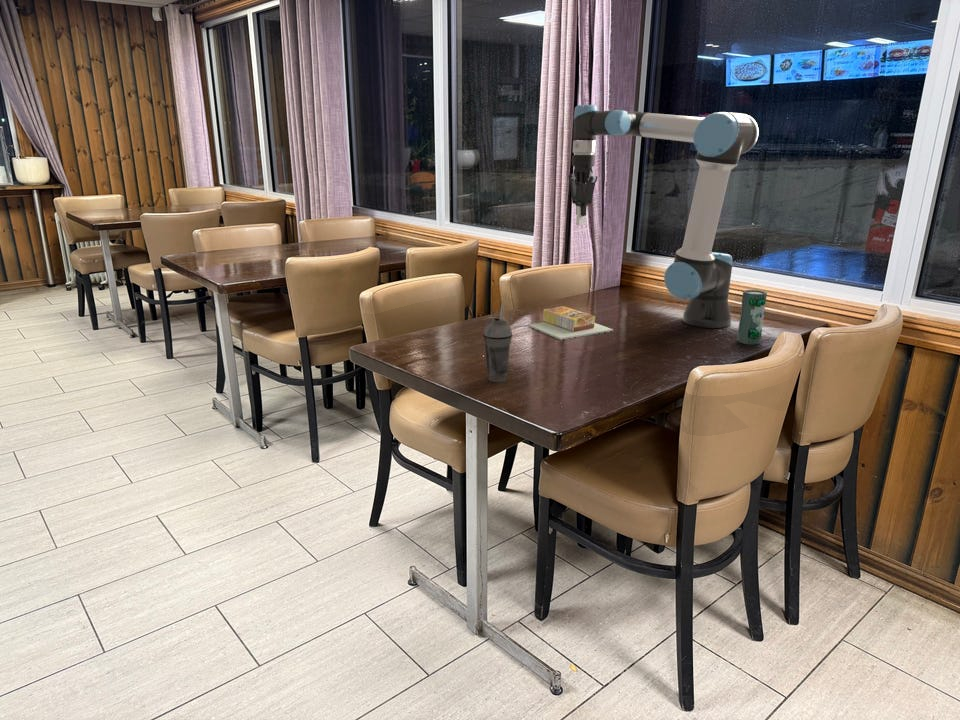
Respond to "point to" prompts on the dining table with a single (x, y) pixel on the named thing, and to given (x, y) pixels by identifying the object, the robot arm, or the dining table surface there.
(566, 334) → the mat
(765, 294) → the can
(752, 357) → the dining table surface
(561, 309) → the candy box
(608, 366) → the dining table surface
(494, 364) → the beverage cup
